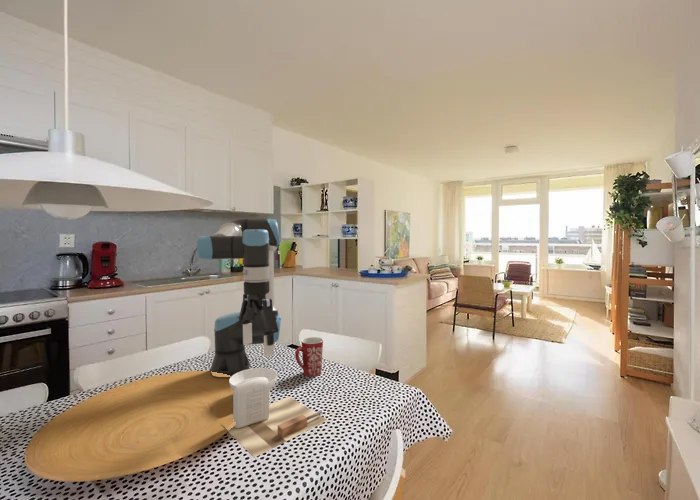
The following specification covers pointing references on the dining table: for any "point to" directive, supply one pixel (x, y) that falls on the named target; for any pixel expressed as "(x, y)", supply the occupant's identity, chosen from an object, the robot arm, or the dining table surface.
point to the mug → (311, 356)
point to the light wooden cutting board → (273, 427)
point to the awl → (294, 424)
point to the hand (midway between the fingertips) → (257, 349)
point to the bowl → (253, 373)
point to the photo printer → (251, 401)
